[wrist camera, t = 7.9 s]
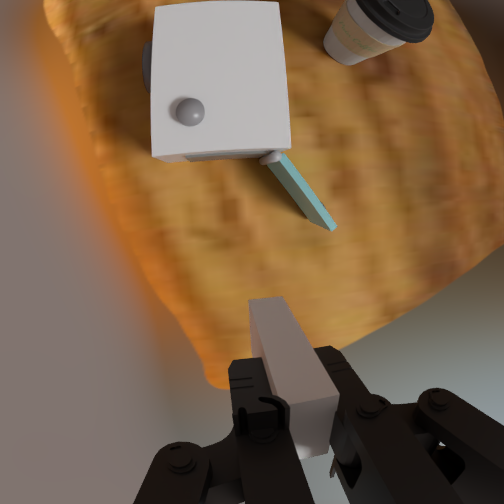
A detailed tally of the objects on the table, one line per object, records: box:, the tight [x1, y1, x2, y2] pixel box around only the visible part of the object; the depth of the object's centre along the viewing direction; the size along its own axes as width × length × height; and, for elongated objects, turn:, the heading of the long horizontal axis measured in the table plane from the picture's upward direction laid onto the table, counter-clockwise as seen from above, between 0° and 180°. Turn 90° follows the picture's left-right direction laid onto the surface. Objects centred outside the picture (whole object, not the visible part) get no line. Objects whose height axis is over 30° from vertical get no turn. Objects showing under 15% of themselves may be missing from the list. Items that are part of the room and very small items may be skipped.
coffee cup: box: [323, 0, 434, 65], centre depth 23 cm, size 9×9×15 cm
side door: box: [259, 151, 337, 231], centre depth 30 cm, size 10×2×7 cm, turn 39°
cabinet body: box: [142, 1, 291, 163], centre depth 25 cm, size 16×13×10 cm
